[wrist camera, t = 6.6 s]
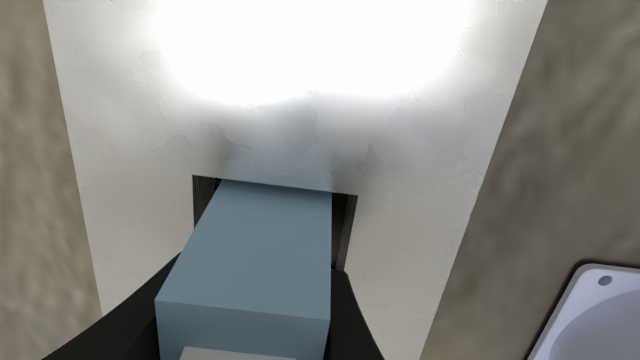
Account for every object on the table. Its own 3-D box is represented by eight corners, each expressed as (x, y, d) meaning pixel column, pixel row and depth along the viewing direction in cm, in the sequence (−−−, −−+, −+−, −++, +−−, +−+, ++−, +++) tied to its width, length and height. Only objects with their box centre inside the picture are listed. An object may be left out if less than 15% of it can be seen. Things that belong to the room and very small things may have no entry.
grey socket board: (649, -467, 8) (782, -653, 5) (402, 329, 18) (412, 379, 15) (25, -575, 7) (-113, -822, 5) (137, 298, 17) (108, 345, 15)
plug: (331, 181, 13) (329, 354, 7) (319, 262, 15) (308, 460, 9) (228, 168, 13) (136, 332, 7) (227, 251, 15) (151, 444, 9)
